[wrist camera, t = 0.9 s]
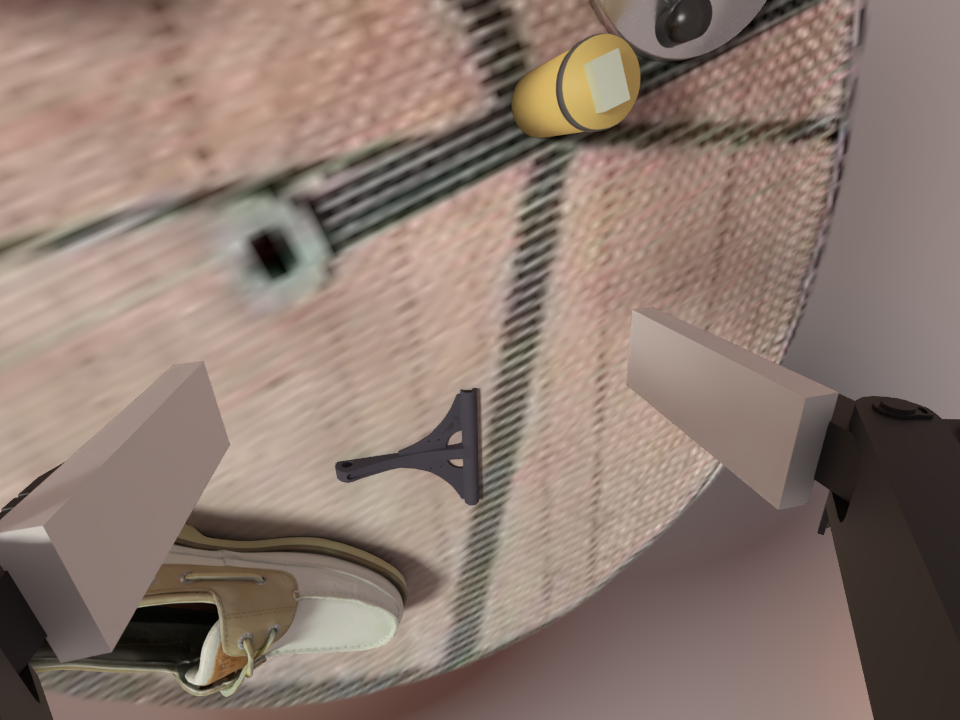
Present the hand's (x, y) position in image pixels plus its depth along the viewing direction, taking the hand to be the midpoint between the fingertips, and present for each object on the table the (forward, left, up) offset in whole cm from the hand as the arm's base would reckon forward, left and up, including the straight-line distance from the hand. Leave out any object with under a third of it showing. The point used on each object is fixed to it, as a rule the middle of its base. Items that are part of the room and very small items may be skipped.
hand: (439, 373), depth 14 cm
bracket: (+21, -9, -29) cm, 36 cm away
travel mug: (-4, +16, -28) cm, 32 cm away
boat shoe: (+23, -30, -28) cm, 47 cm away
